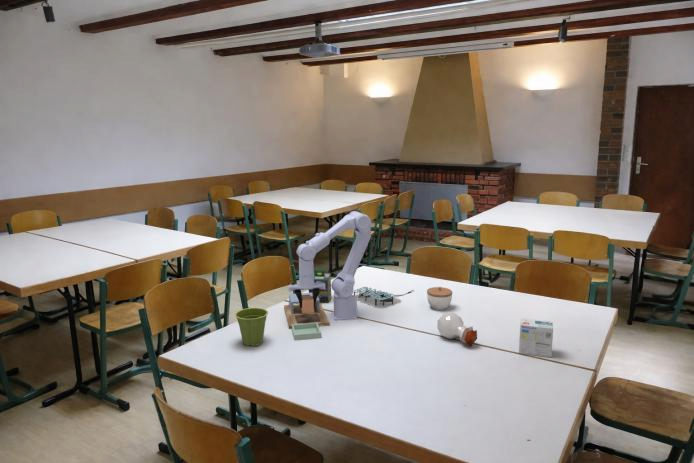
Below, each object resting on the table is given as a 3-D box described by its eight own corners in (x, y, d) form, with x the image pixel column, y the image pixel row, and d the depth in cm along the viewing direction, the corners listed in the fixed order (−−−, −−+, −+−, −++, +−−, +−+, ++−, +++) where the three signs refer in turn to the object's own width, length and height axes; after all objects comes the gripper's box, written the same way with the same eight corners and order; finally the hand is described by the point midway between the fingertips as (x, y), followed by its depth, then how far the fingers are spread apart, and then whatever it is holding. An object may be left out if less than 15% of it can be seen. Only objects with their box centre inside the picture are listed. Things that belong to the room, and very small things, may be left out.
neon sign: (423, 286, 234) (381, 301, 214) (423, 294, 235) (381, 310, 214) (389, 277, 249) (347, 290, 228) (389, 285, 249) (347, 299, 229)
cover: (315, 303, 217) (315, 287, 216) (319, 312, 207) (319, 294, 206) (289, 305, 215) (288, 288, 213) (291, 314, 205) (291, 296, 203)
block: (312, 308, 203) (312, 295, 201) (313, 312, 198) (313, 299, 197) (301, 309, 202) (300, 296, 201) (302, 313, 197) (302, 300, 196)
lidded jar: (455, 306, 218) (456, 285, 216) (446, 314, 209) (447, 292, 207) (432, 302, 224) (433, 282, 222) (422, 309, 215) (423, 288, 213)
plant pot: (275, 338, 185) (274, 310, 183) (256, 351, 174) (255, 321, 172) (249, 333, 190) (247, 305, 188) (229, 345, 179) (228, 316, 177)
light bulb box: (550, 350, 175) (553, 321, 173) (551, 358, 169) (554, 328, 166) (518, 345, 178) (520, 317, 176) (518, 353, 172) (520, 324, 170)
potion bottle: (440, 335, 191) (471, 353, 180) (427, 326, 185) (458, 345, 173) (453, 314, 192) (484, 331, 180) (440, 304, 186) (472, 321, 174)
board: (320, 305, 219) (320, 302, 219) (329, 325, 197) (329, 322, 196) (284, 308, 216) (283, 305, 216) (289, 329, 194) (288, 325, 193)
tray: (317, 327, 195) (317, 322, 194) (321, 338, 185) (321, 332, 185) (291, 330, 193) (291, 324, 192) (294, 340, 183) (294, 335, 183)
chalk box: (331, 297, 231) (331, 266, 228) (328, 303, 222) (328, 271, 219) (311, 296, 232) (311, 265, 229) (308, 303, 223) (307, 271, 220)
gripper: (323, 270, 202) (323, 301, 205) (287, 272, 199) (288, 304, 202) (325, 275, 195) (326, 307, 198) (288, 277, 193) (290, 310, 195)
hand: (307, 306), depth 200 cm, fingers closed on block, 4 cm apart
